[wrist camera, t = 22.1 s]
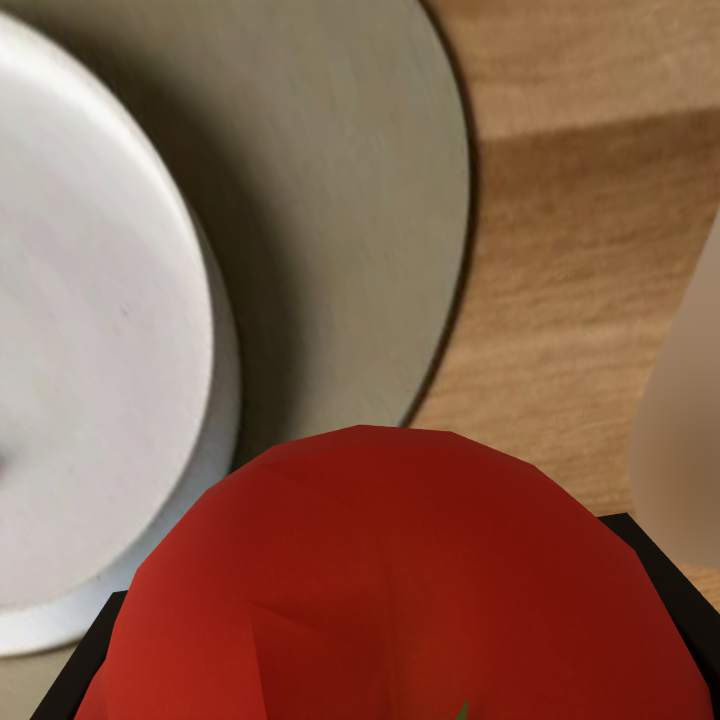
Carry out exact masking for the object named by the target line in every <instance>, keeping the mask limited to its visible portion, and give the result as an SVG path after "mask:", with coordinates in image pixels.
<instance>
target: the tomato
mask: <svg viewBox="0 0 720 720" xmlns="http://www.w3.org/2000/svg"><path fill="white" fill-rule="evenodd" d="M74 720H714V714H713V708H712V702H711V696H710V690H709V687H708V685H707V684H706V682H705V680H704V678H703V676H702V674H701V672H700V671H699V669H698V667H697V665H696V663H695V661H694V659H693V658H692V656H691V654H690V652H689V650H688V648H687V647H686V645H685V643H684V641H683V639H682V637H681V635H680V634H679V632H678V630H677V628H676V626H675V624H674V622H673V621H672V619H671V617H670V615H669V613H668V611H667V610H666V608H665V606H664V604H663V602H662V600H661V598H660V597H659V595H658V593H657V591H656V589H655V587H654V585H653V584H652V582H651V580H650V578H649V576H648V574H647V573H646V571H645V569H644V567H643V565H642V563H641V561H640V560H639V558H638V556H637V554H636V552H635V550H634V549H633V548H631V547H630V546H629V545H628V544H627V543H626V542H624V541H623V540H622V539H621V538H620V537H619V536H617V535H616V534H615V533H614V532H613V531H612V530H610V529H609V528H608V527H607V526H606V525H605V524H603V523H602V522H601V521H600V520H599V519H598V518H596V517H595V516H594V515H593V514H592V513H591V512H589V511H588V510H587V509H586V508H585V507H584V506H582V505H581V504H580V503H579V502H578V501H577V500H575V499H574V498H573V497H572V496H571V495H570V494H568V493H567V492H566V491H565V490H564V489H563V488H561V487H560V486H559V485H558V484H556V483H555V482H554V481H553V480H551V479H550V478H549V477H548V476H546V475H545V474H544V473H543V472H541V471H540V470H539V469H538V468H536V467H535V466H534V465H532V464H529V463H527V462H525V461H522V460H520V459H517V458H515V457H512V456H510V455H507V454H505V453H502V452H500V451H498V450H495V449H493V448H490V447H488V446H485V445H483V444H480V443H478V442H475V441H473V440H470V439H468V438H466V437H463V436H461V435H458V434H456V433H453V432H449V431H436V430H423V429H410V428H398V427H385V426H372V425H356V426H352V427H348V428H344V429H340V430H336V431H332V432H328V433H324V434H320V435H315V436H311V437H307V438H303V439H299V440H295V441H291V442H287V443H283V444H279V445H274V446H273V447H271V448H270V449H268V450H267V451H265V452H264V453H262V454H261V455H259V456H258V457H256V458H255V459H253V460H252V461H250V462H249V463H247V464H246V465H244V466H243V467H241V468H239V469H238V470H236V471H235V472H233V473H232V474H230V475H229V476H227V477H226V478H224V479H223V480H221V481H220V482H218V483H217V484H215V485H214V486H212V487H211V488H209V489H208V490H206V492H205V493H204V494H203V495H202V496H201V497H200V498H199V499H198V501H197V502H196V503H195V504H194V505H193V506H192V507H191V508H190V510H189V511H188V512H187V513H186V514H185V515H184V516H183V517H182V519H181V520H180V521H179V522H178V523H177V524H176V525H175V527H174V528H173V529H172V530H171V531H170V532H169V533H168V535H167V536H166V537H165V538H164V539H163V540H162V541H161V542H160V544H159V545H158V546H157V547H156V548H155V549H154V550H153V552H152V553H151V554H150V555H149V556H148V557H147V558H146V560H145V561H144V562H143V563H142V564H141V565H140V566H139V568H138V569H137V571H136V573H135V576H134V578H133V581H132V583H131V585H130V588H129V590H128V593H127V595H126V597H125V600H124V602H123V604H122V607H121V609H120V612H119V614H118V616H117V619H116V621H115V624H114V628H113V632H112V636H111V640H110V644H109V648H108V652H107V656H106V660H105V661H104V663H103V664H102V666H101V667H100V668H99V670H98V671H97V673H96V674H95V676H94V677H93V678H92V680H91V683H90V685H89V687H88V689H87V691H86V694H85V696H84V698H83V700H82V703H81V705H80V707H79V709H78V711H77V714H76V716H75V718H74Z"/></svg>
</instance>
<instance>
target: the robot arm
mask: <svg viewBox="0 0 720 720" xmlns="http://www.w3.org/2000/svg"><path fill="white" fill-rule="evenodd" d="M596 518H598V519H599V520H600V521H601V522H602V523H603V524H605V525H606V526H607V527H608V528H609V529H610V530H612V531H613V532H614V533H615V534H616V535H617V536H619V537H620V538H621V539H622V540H623V541H624V542H626V543H627V544H628V545H629V546H630V547H631V548H633V549H634V550H635V552H636V554H637V556H638V558H639V560H640V561H641V563H642V565H643V567H644V569H645V571H646V573H647V574H648V576H649V578H650V580H651V582H652V584H653V585H654V587H655V589H656V591H657V593H658V595H659V597H660V598H661V600H662V602H663V604H664V606H665V608H666V610H667V611H668V613H669V615H670V617H671V619H672V621H673V622H674V624H675V626H676V628H677V630H678V632H679V634H680V635H681V637H682V639H683V641H684V643H685V645H686V647H687V648H688V650H689V652H690V654H691V656H692V658H693V659H694V661H695V663H696V665H697V667H698V669H699V671H700V672H701V674H702V676H703V678H704V680H705V682H706V684H707V685H708V687H709V690H710V696H711V702H712V708H713V714H714V720H720V614H719V613H718V612H717V611H716V610H715V609H714V608H713V607H712V605H711V604H710V603H709V602H708V601H707V600H706V599H705V598H704V597H703V596H702V594H701V593H700V592H699V591H698V590H697V589H696V588H695V587H694V586H693V585H692V584H691V582H690V581H689V580H688V579H687V578H686V577H685V576H684V575H683V574H682V573H681V571H680V570H679V569H678V568H677V567H676V566H675V565H674V564H673V563H672V562H671V561H670V559H669V558H668V557H667V556H666V555H665V554H664V553H663V552H662V551H661V550H660V549H659V547H657V545H656V544H655V543H654V542H653V541H652V540H651V539H650V538H649V536H648V535H647V534H646V533H645V532H644V531H643V530H642V529H641V528H640V527H639V526H638V524H637V523H636V522H635V521H634V520H633V519H632V518H631V517H630V516H629V515H628V514H627V513H621V514H614V515H608V516H601V517H596ZM127 593H128V590H126V591H119V592H113V593H112V595H111V596H110V598H109V599H108V601H107V602H106V604H105V605H104V607H103V608H102V610H101V611H100V613H99V615H98V616H97V618H96V619H95V621H94V622H93V624H92V625H91V627H90V628H89V630H88V631H87V633H86V634H85V636H84V637H83V639H82V640H81V642H80V643H79V645H78V647H77V648H76V650H75V651H74V653H73V654H72V656H71V657H70V659H69V660H68V662H67V663H66V665H65V666H64V668H63V669H62V671H61V672H60V674H59V676H58V677H57V679H56V680H55V682H54V683H53V685H52V686H51V688H50V689H49V691H48V692H47V694H46V695H45V697H44V698H43V700H42V701H41V703H40V704H39V706H38V708H37V709H36V711H35V712H34V714H33V715H32V717H31V718H30V720H74V718H75V716H76V714H77V711H78V709H79V707H80V705H81V703H82V700H83V698H84V696H85V694H86V691H87V689H88V687H89V685H90V683H91V680H92V678H93V677H94V676H95V674H96V673H97V671H98V670H99V668H100V667H101V666H102V664H103V663H104V661H105V660H106V656H107V652H108V648H109V644H110V640H111V636H112V632H113V628H114V624H115V621H116V619H117V616H118V614H119V612H120V609H121V607H122V604H123V602H124V600H125V597H126V595H127Z"/></svg>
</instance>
